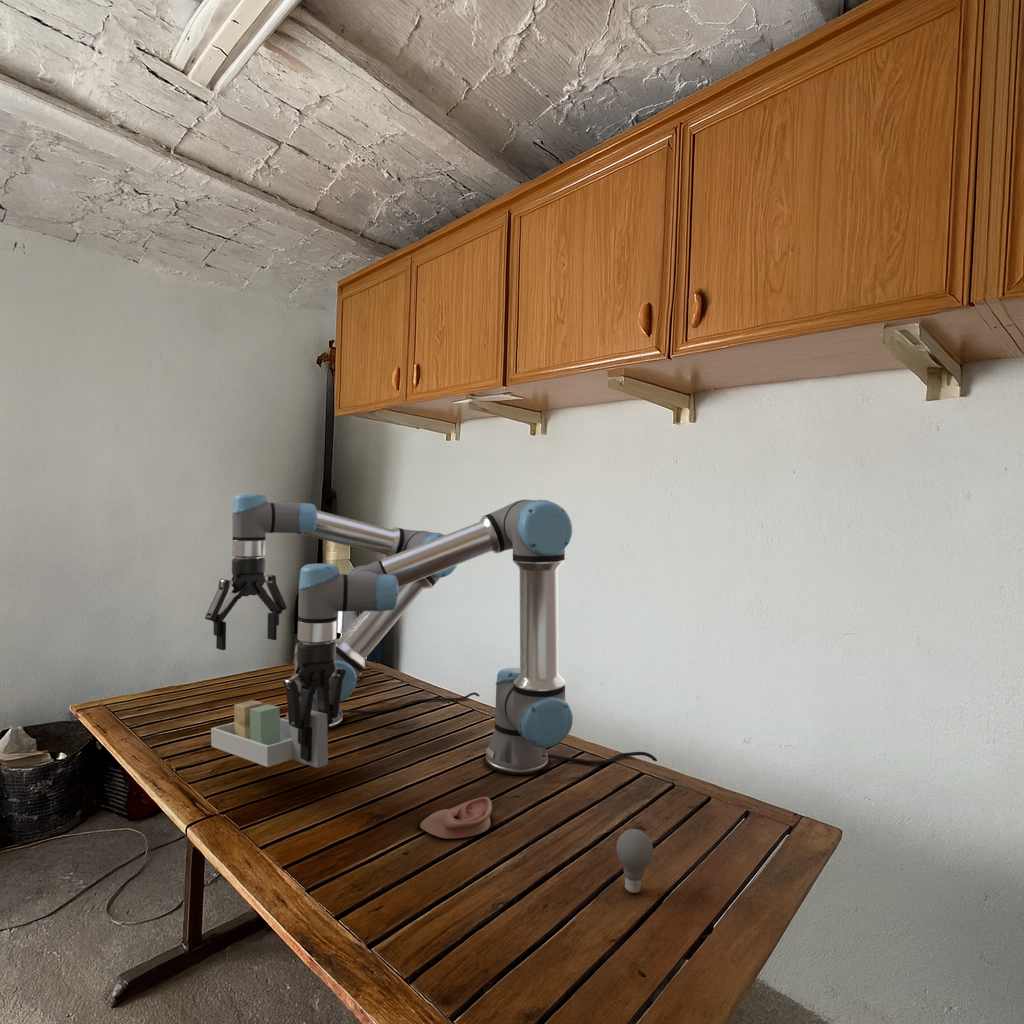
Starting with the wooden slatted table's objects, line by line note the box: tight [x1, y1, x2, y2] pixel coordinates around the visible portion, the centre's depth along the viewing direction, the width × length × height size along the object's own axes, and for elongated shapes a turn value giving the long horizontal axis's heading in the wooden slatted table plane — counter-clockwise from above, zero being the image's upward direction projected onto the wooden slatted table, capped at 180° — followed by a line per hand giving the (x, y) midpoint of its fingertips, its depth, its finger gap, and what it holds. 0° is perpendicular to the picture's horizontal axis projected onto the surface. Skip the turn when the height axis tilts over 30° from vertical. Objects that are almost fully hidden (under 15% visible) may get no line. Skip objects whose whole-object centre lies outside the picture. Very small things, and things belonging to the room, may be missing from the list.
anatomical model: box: [419, 796, 493, 840], centre depth 124 cm, size 13×4×12 cm
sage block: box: [250, 703, 281, 746], centre depth 139 cm, size 4×4×8 cm
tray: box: [210, 710, 329, 769], centre depth 136 cm, size 32×13×10 cm, turn 51°
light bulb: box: [615, 828, 654, 894], centre depth 106 cm, size 6×6×10 cm
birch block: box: [233, 699, 264, 739], centre depth 143 cm, size 4×4×8 cm
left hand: (247, 644), depth 155 cm, fingers open, 13 cm apart
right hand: (312, 756), depth 128 cm, fingers closed on tray, 2 cm apart
